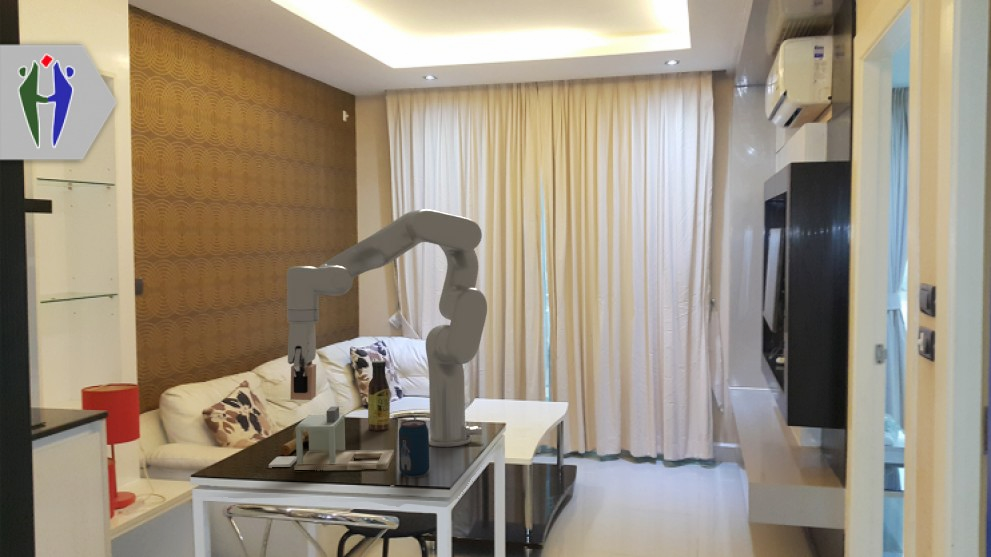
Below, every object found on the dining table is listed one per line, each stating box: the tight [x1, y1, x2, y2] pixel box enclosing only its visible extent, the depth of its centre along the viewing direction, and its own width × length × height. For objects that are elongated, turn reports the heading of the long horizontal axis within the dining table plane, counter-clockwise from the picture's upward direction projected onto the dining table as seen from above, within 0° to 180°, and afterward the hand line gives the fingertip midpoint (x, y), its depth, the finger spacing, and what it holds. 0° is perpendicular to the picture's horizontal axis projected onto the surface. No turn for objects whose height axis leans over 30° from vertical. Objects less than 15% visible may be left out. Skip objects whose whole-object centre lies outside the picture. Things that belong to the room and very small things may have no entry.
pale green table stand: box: [295, 406, 346, 464], centre depth 185 cm, size 9×13×12 cm
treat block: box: [290, 363, 317, 401], centre depth 184 cm, size 5×5×8 cm
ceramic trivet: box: [268, 455, 297, 469], centre depth 185 cm, size 5×7×1 cm
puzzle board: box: [293, 449, 395, 472], centre depth 185 cm, size 22×13×1 cm, turn 90°
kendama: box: [279, 427, 309, 456], centre depth 201 cm, size 8×6×18 cm
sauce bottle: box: [367, 360, 391, 432], centre depth 219 cm, size 7×6×20 cm
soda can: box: [398, 419, 430, 478], centre depth 174 cm, size 7×7×12 cm
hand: (303, 389), depth 184 cm, fingers closed on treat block, 5 cm apart
